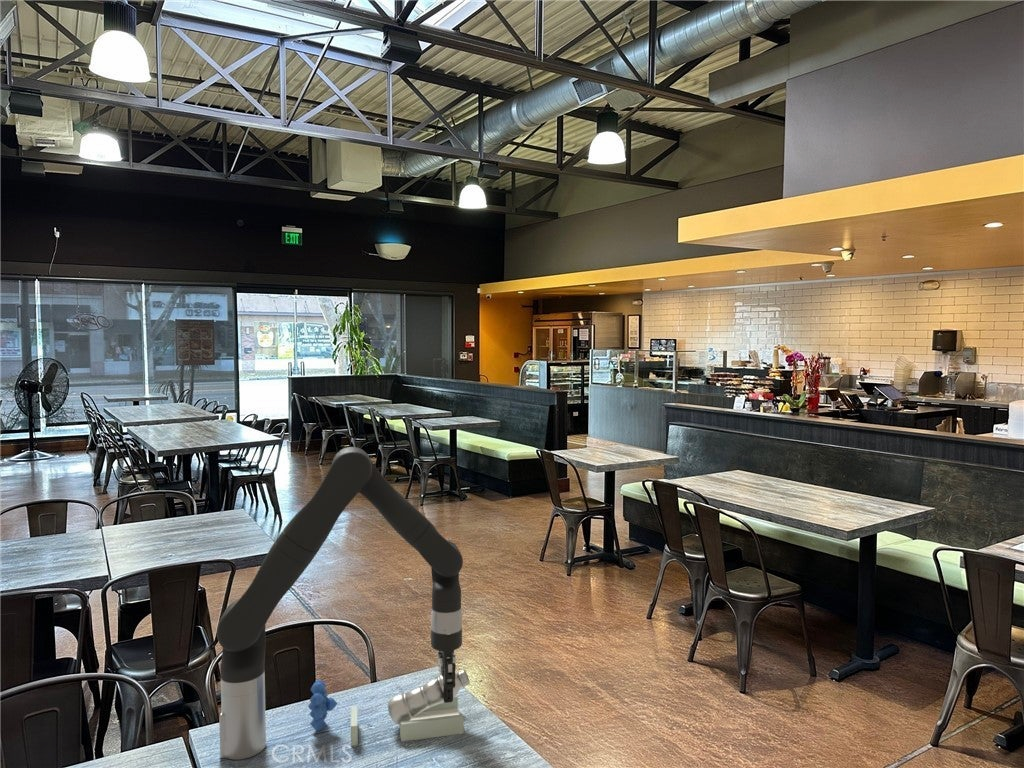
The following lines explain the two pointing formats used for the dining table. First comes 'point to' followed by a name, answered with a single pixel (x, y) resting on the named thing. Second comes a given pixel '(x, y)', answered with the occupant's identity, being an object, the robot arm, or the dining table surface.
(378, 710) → the dining table surface
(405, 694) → the silver metal bottle
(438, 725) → the cradle
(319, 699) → the grapes
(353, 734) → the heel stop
